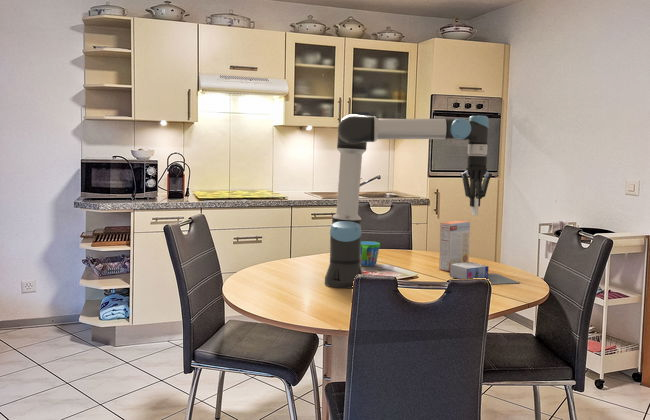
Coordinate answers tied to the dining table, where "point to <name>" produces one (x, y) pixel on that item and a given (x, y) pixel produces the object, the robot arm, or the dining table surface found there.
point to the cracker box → (454, 243)
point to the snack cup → (369, 253)
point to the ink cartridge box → (468, 270)
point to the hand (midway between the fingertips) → (474, 214)
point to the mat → (500, 279)
